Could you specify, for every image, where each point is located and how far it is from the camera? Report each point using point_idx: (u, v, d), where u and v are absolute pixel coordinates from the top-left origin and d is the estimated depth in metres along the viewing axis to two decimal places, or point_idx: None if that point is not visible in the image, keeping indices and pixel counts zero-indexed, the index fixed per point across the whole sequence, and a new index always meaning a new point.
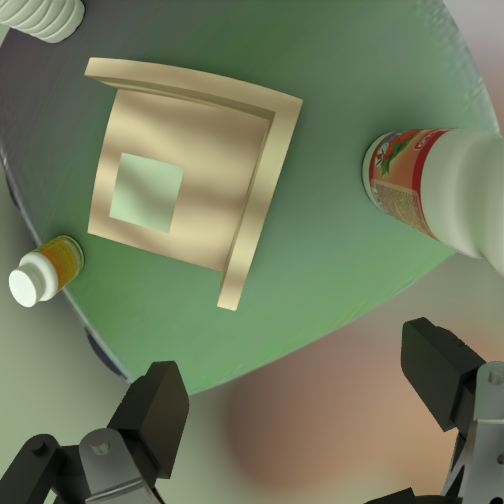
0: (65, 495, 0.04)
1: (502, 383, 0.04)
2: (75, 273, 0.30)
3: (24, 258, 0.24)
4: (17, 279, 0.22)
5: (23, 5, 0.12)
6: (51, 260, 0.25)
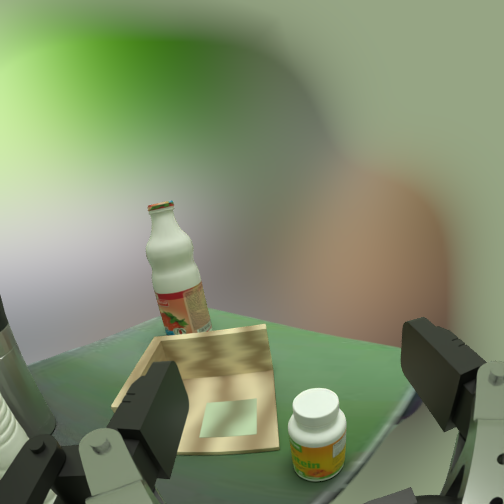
0: (65, 495, 0.04)
1: (502, 383, 0.04)
2: None
3: (296, 434, 0.22)
4: (306, 407, 0.22)
5: (26, 435, 0.18)
6: None
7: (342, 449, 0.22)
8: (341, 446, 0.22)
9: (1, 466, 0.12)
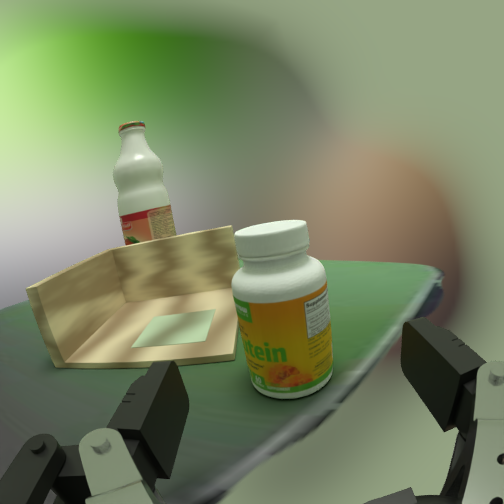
0: (65, 495, 0.04)
1: (502, 383, 0.04)
2: None
3: (241, 281, 0.15)
4: (254, 230, 0.16)
5: None
6: None
7: (325, 328, 0.16)
8: (322, 319, 0.15)
9: None
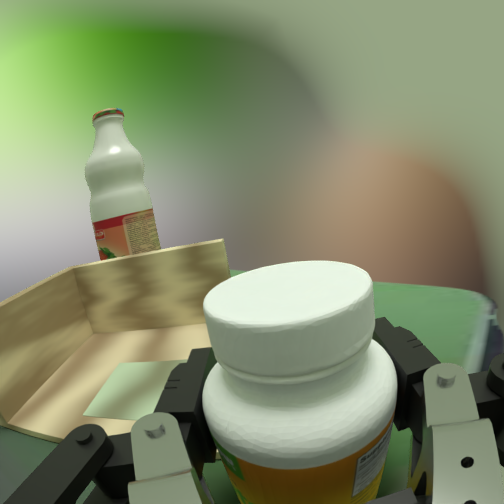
0: (106, 487, 0.05)
1: (449, 386, 0.05)
2: None
3: (218, 412, 0.06)
4: (250, 298, 0.06)
5: None
6: None
7: (382, 467, 0.06)
8: (381, 460, 0.06)
9: None
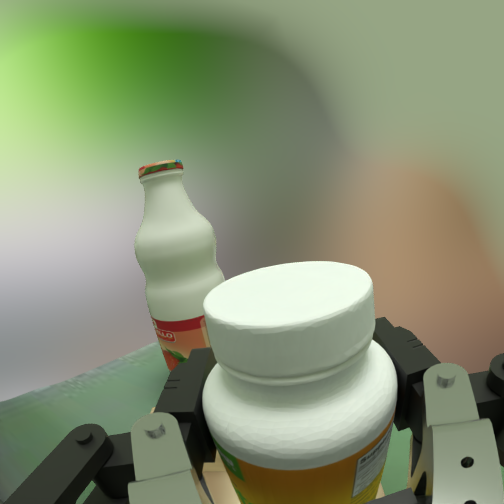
0: (105, 487, 0.05)
1: (449, 386, 0.05)
2: None
3: (218, 413, 0.06)
4: (250, 299, 0.06)
5: None
6: None
7: (382, 467, 0.06)
8: (382, 461, 0.06)
9: None
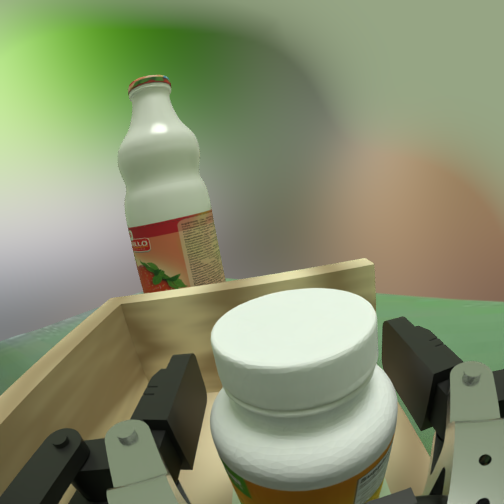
0: (85, 490, 0.05)
1: (475, 384, 0.05)
2: None
3: (227, 438, 0.06)
4: (257, 333, 0.06)
5: None
6: None
7: (381, 482, 0.06)
8: (381, 477, 0.06)
9: None
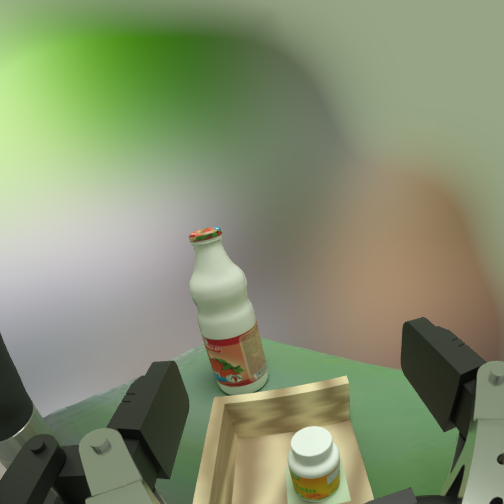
0: (65, 495, 0.04)
1: (502, 383, 0.04)
2: None
3: (294, 467, 0.23)
4: (303, 445, 0.23)
5: None
6: None
7: (337, 476, 0.23)
8: (335, 475, 0.23)
9: None
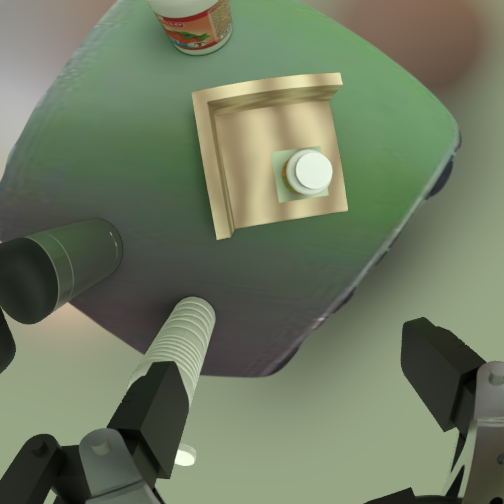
0: (65, 495, 0.04)
1: (502, 383, 0.04)
2: None
3: (295, 186, 0.33)
4: (307, 176, 0.30)
5: (186, 329, 0.34)
6: (288, 161, 0.33)
7: None
8: None
9: None
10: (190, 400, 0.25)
